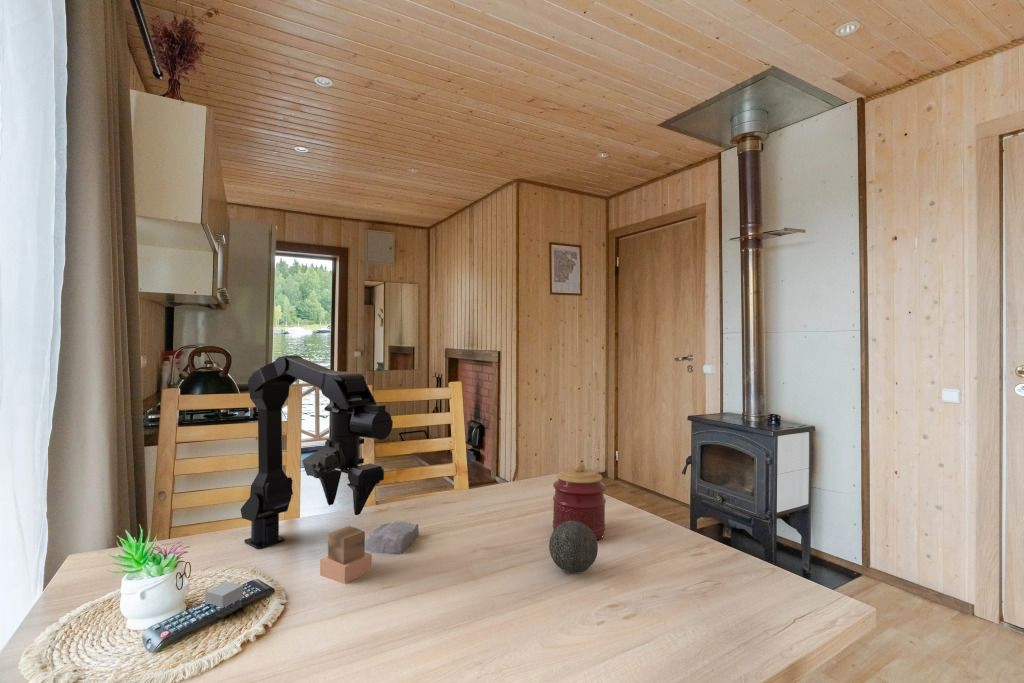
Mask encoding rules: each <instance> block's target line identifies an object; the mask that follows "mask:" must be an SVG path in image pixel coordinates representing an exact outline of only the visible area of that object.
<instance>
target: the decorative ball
mask: <svg viewBox="0 0 1024 683" xmlns="http://www.w3.org/2000/svg"><path fill="white" fill-rule="evenodd" d="M548 542H549V544H548V546H549V547H548V549H549V554H550V557H551V559H552V561H553V563H554V564H555V565H556V566H557V567H558V568H560V569H561V570H563V571H564V572H566V573H570V574H579V573H582V572H584V571H587V570H588V569H589V568H590V567H592V565H593V564H594V562H595V561H596V559H597V556H598V551H599V546H598V545H599V544H598V540H597V539H596V537H595V534H594V533H593V531H592V530H591V529H590V528H589V527H588V526H587V525H585V524H583V523H581V522H578V521H566V522H564V523H562V524H560V525H559V526H557V527H556V528H555V530H553V531H552V532H551V535H550V537H549V541H548Z"/></svg>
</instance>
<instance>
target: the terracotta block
mask: <svg viewBox="0 0 1024 683" xmlns="http://www.w3.org/2000/svg"><path fill="white" fill-rule="evenodd" d="M372 560H373V559H372V553H370V552H369V553H368V552H366V551H365V555H364V556H363V557H361V558H358V559H356V560H354V561H351V562H349V563H346V564H344V565H343V564H341V563H338V562H336V561H334V560H331V559H329V558H328V555H326V556H323V557H322V558H320V559H319V576H321V577H324V578H326V579H329V580H331V581H332V580H333V581H335V582H338V583H341V584H344V585H346V584H347V583H349V582H352V581H353V580H355V579H357V578H359V577H360V576H362V575H364V574H366V573H368V572H370V571H372Z"/></svg>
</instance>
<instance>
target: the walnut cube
mask: <svg viewBox="0 0 1024 683" xmlns="http://www.w3.org/2000/svg"><path fill="white" fill-rule="evenodd" d="M327 536H328V537H327V540H328V541H327V556H328V558H329V559H331V560H334V561H336V562H338V563H341V564H343V565H344V564H346V563H349V562H351V561H354V560H356V559H358V558H361V557H363V556H364V555H365V552H366V551H365V550H366V547H365V538H366V532H365V530H362V529H360V528H357V527H354V526H350V525H348V526H345V527H342V528H339V529H337V530H333V531H331V532H328V535H327Z"/></svg>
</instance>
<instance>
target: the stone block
mask: <svg viewBox="0 0 1024 683" xmlns="http://www.w3.org/2000/svg"><path fill="white" fill-rule="evenodd" d="M418 536H419V524H418V523H411V522H407V521H402V520H401V521H397V520H396V521H393V522H388V523H383V524H380V526H379V527H377V528H376V529H374V530H373V531H372V533H371V534H370V535H368V536H367V537H365V550H366V551H367V552H369V553H375V554H393V555H395V554H396V555H401V554H402V553H403V552H404V551H406V549H407V548H408V547H409V546H410V545H412V543H413V542H414V541H415V540H416V539H417V538H416V537H418ZM415 538H416V539H415ZM414 539H415V540H414ZM413 540H414V541H413ZM412 541H413V542H412ZM400 553H401V554H400Z"/></svg>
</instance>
